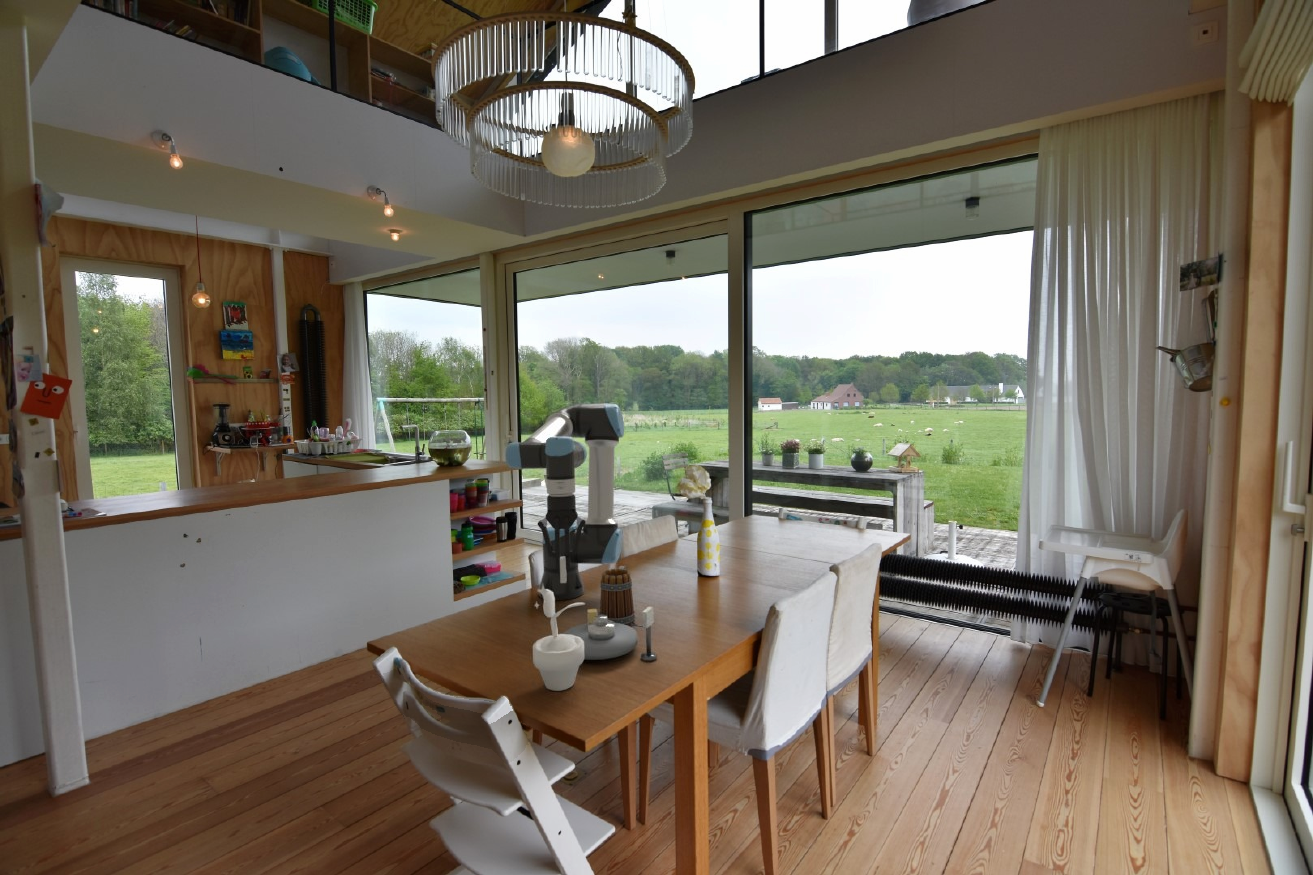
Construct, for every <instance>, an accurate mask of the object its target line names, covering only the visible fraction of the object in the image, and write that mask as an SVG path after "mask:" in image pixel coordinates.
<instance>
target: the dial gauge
mask: <svg viewBox="0 0 1313 875" xmlns="http://www.w3.org/2000/svg"><path fill="white" fill-rule="evenodd" d="M654 617H655V616H654V607H653V606H648V607H646V608H645V609H644V610H642V618H641V619H642V624H637V623H633V624H631V626H633V627H639V628H643V629H645V641H646V642H645V643H646V644H645V645H646V646H645V647H646V650H645V652H642V653H641V654H640V660H641V661H643V662H654V661H657V659H658V655H657V653H656V652H653V651H652V633H651V632H652V628H651V627H652V625H653V624H654V622H655V620H654ZM631 626H630V627H631Z"/></svg>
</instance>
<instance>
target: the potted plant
mask: <svg viewBox="0 0 1313 875" xmlns="http://www.w3.org/2000/svg"><path fill="white" fill-rule="evenodd" d="M536 591H537V592H538V593H539V592H540V593H541V594H542V595H543V598H542V599H543V604H542V608H543V614H544V615H545V616H546V617H547V618H550V622H549V623H550V628H551V634H552V635H547V636H544V637H541V638H539V639H538V640H536V641H535V642H534V643H533V644H532V663H533V665H534V666H535V668H536V669H538V670H539V673H540V675H541V678H542V681H543V683H544V686H545V687H546V689H547V690H551V691H553V692H554V691H555V692H560V691H561V692H562V691H565V690H568V689H569V688H571V687H573V686H574V684H575V682H576V678H577V675H578V672H579V668H580V666H581V665H582V664H583V663H584V660H585V659H584V641H583V640H582V639H581V638H580V637H577V636H574V635H568V634H563V633H558V632H559V631H558V624H557V623H558V622H557V617H559V616H560V615H561V614H562V613H563V612H564V611H565V610H568V609H570V608H573V607H578V606H579V607H580V606H584V605H585V606H586V603H585V602H574V603H571V604H568V605H567V606H566V607H564V608H562V609H560V610H558V611H557V612H556V602H555V601H556V600H555V597H554V594H553V592H552V591H550V590H549V589H544V586H542V589H541V590H539V589H537V590H536ZM539 606H540V604H538V601H535V604H534V607H536V609H538V608H539Z"/></svg>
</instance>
